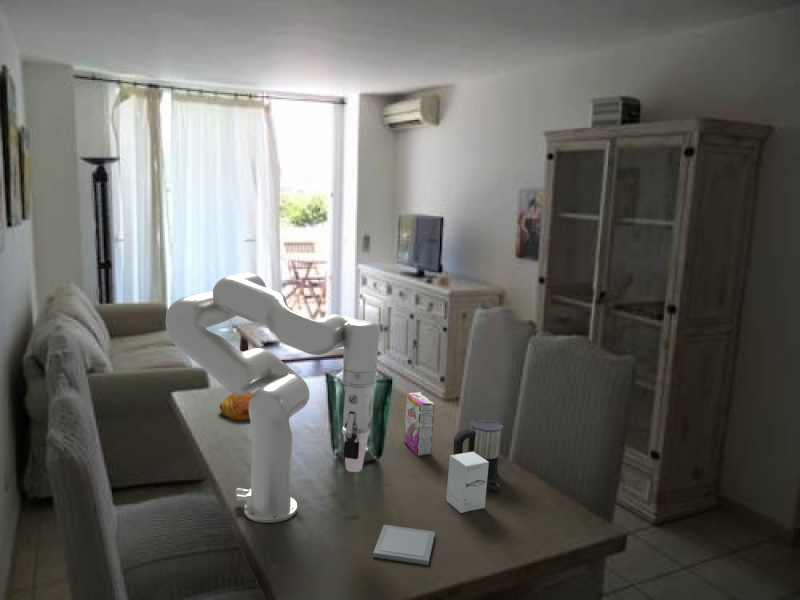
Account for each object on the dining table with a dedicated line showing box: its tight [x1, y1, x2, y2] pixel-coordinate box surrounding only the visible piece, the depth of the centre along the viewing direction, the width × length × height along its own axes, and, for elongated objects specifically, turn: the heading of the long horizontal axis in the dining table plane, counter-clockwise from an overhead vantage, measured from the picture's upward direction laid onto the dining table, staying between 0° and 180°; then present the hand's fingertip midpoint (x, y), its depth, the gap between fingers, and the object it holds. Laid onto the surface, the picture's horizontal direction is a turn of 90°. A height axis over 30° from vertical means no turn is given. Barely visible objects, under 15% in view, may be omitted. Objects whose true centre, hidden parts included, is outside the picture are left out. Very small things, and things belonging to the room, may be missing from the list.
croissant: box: [219, 391, 255, 421], centre depth 216 cm, size 14×16×8 cm
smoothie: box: [341, 425, 371, 473], centre depth 144 cm, size 6×6×14 cm
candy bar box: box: [403, 391, 435, 457], centre depth 194 cm, size 11×5×16 cm, turn 22°
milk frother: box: [453, 418, 503, 492], centre depth 175 cm, size 14×16×15 cm
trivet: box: [372, 524, 436, 566], centre depth 141 cm, size 12×12×1 cm
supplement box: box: [445, 451, 489, 514], centre depth 161 cm, size 7×7×13 cm
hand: (354, 451), depth 144 cm, fingers closed on smoothie, 6 cm apart
